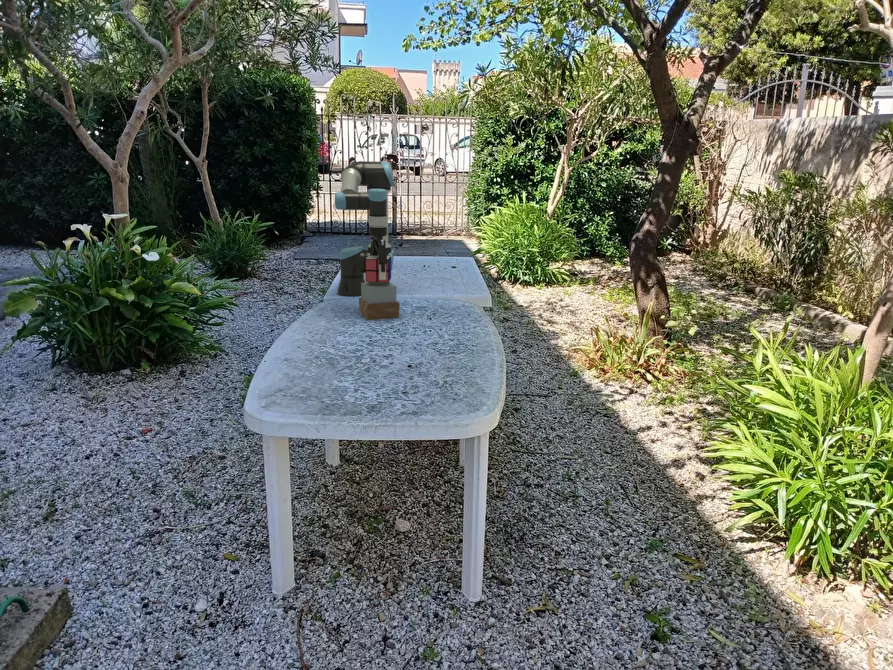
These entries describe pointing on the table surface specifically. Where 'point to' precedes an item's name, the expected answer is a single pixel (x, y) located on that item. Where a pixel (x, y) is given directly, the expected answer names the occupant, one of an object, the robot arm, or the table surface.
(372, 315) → the walnut block
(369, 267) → the puzzle cube
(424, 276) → the table surface
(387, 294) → the slate block
